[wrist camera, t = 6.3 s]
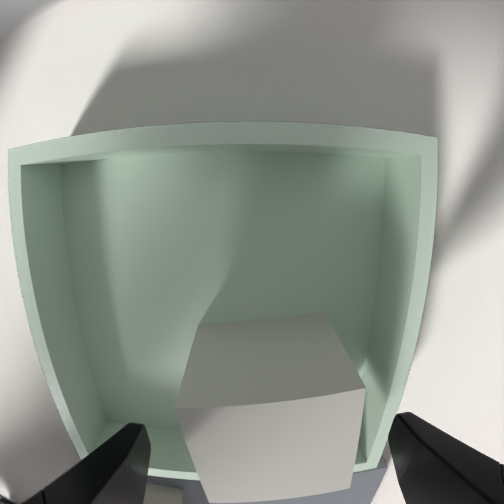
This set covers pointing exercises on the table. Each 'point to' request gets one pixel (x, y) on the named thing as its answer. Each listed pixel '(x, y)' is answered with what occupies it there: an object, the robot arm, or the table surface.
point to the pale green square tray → (217, 260)
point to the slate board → (348, 500)
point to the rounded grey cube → (270, 409)
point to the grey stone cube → (163, 495)
